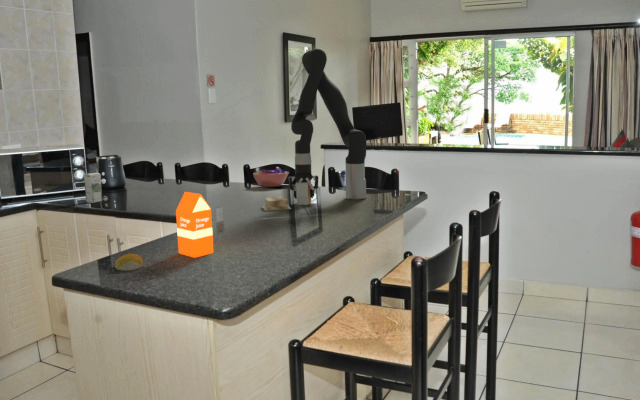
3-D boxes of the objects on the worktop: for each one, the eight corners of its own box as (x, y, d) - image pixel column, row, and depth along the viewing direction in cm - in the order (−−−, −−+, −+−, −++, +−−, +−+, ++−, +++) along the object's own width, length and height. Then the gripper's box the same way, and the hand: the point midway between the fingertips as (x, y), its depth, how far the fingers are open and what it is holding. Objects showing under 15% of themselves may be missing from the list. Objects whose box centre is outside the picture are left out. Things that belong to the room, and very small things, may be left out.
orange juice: (194, 257, 186) (190, 195, 182) (178, 253, 191) (174, 193, 188) (214, 252, 191) (210, 192, 188) (197, 248, 197) (194, 190, 194)
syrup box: (96, 200, 296) (93, 172, 294) (103, 201, 293) (100, 172, 290) (85, 202, 291) (83, 173, 289) (92, 203, 288) (90, 174, 286)
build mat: (288, 206, 269) (288, 204, 269) (291, 210, 260) (291, 208, 260) (262, 207, 267) (262, 206, 267) (264, 211, 257) (264, 210, 257)
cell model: (253, 185, 335) (252, 165, 333) (288, 184, 337) (287, 164, 335) (253, 189, 319) (252, 169, 317) (290, 188, 321) (289, 168, 319)
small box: (308, 206, 268) (307, 183, 267) (296, 205, 269) (295, 183, 268) (311, 202, 276) (311, 180, 274) (300, 202, 277) (299, 180, 275)
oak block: (284, 205, 268) (284, 196, 268) (288, 208, 260) (287, 199, 259) (265, 206, 267) (265, 197, 266) (267, 210, 258) (267, 201, 257)
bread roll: (143, 262, 183) (142, 249, 182) (143, 269, 175) (142, 256, 174) (115, 264, 181) (114, 252, 180) (114, 272, 172) (113, 259, 171)
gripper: (316, 161, 274) (317, 196, 277) (286, 162, 272) (287, 197, 274) (320, 163, 267) (320, 198, 270) (288, 164, 264) (290, 200, 267)
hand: (303, 198), depth 272 cm, fingers closed on small box, 7 cm apart
